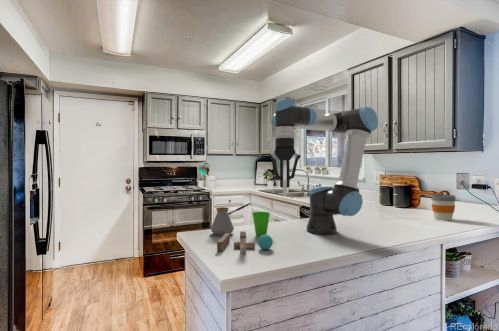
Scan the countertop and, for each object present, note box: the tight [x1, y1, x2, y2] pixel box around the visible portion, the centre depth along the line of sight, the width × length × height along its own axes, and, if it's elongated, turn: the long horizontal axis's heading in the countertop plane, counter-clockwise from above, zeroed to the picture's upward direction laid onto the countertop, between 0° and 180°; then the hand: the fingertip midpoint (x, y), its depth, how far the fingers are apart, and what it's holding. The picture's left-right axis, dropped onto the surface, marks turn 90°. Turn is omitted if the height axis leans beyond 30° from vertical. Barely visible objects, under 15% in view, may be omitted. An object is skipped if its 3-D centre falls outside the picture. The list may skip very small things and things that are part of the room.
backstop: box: [216, 233, 231, 253], centre depth 119 cm, size 2×14×4 cm, turn 171°
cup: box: [251, 210, 271, 237], centre depth 137 cm, size 9×9×11 cm
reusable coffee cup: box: [430, 193, 457, 222], centre depth 175 cm, size 13×13×15 cm
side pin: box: [239, 230, 247, 255], centre depth 110 cm, size 2×2×8 cm
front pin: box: [233, 241, 256, 250], centre depth 117 cm, size 2×2×8 cm
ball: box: [257, 234, 274, 250], centre depth 115 cm, size 6×6×6 cm
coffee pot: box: [210, 202, 253, 236], centre depth 142 cm, size 21×12×15 cm, turn 108°
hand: (284, 195), depth 115 cm, fingers closed
